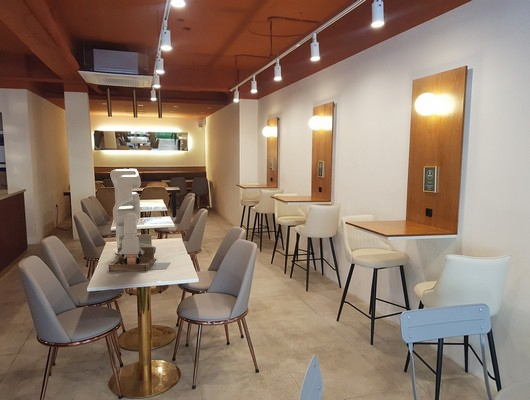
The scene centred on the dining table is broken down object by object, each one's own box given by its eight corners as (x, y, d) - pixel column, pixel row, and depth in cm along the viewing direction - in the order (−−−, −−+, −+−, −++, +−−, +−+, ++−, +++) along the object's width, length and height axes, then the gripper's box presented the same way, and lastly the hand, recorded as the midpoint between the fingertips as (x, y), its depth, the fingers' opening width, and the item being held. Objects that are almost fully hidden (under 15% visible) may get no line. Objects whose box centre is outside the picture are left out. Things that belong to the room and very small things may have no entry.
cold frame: (119, 262, 251) (117, 235, 249) (154, 261, 252) (152, 234, 250) (108, 271, 232) (106, 241, 230) (146, 270, 233) (144, 241, 231)
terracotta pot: (128, 265, 245) (127, 252, 244) (139, 265, 246) (138, 252, 245) (125, 268, 239) (124, 255, 238) (136, 268, 239) (135, 255, 238)
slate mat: (154, 263, 250) (154, 262, 249) (170, 262, 250) (170, 262, 250) (149, 269, 236) (149, 269, 236) (166, 269, 236) (166, 268, 236)
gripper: (114, 237, 236) (116, 266, 238) (143, 236, 236) (144, 265, 239) (118, 234, 243) (120, 263, 245) (146, 234, 244) (148, 262, 246)
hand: (132, 264), depth 242 cm, fingers closed on terracotta pot, 6 cm apart
